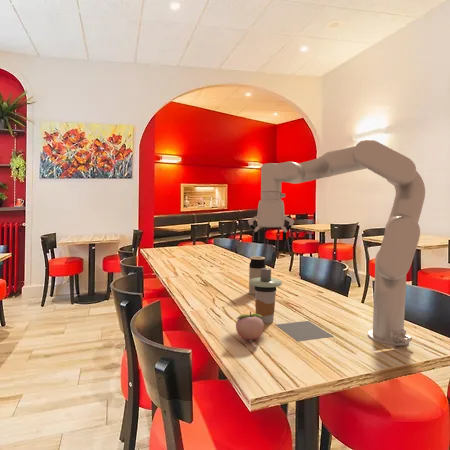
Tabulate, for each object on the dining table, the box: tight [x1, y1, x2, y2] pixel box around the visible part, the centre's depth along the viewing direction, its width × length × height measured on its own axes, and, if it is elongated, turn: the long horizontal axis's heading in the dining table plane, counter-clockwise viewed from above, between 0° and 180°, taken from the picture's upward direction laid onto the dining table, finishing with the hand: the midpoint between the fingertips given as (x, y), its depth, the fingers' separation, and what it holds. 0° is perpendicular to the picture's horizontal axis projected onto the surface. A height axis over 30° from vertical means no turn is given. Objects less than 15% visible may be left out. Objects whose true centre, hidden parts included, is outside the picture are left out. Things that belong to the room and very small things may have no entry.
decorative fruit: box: [235, 311, 265, 342], centre depth 115 cm, size 9×8×10 cm
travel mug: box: [248, 255, 267, 296], centre depth 175 cm, size 8×8×18 cm
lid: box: [250, 267, 283, 288], centre depth 133 cm, size 12×12×6 cm
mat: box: [275, 320, 335, 342], centre depth 125 cm, size 16×14×1 cm
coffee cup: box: [254, 286, 277, 325], centre depth 133 cm, size 8×8×15 cm
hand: (270, 242), depth 133 cm, fingers open, 9 cm apart
